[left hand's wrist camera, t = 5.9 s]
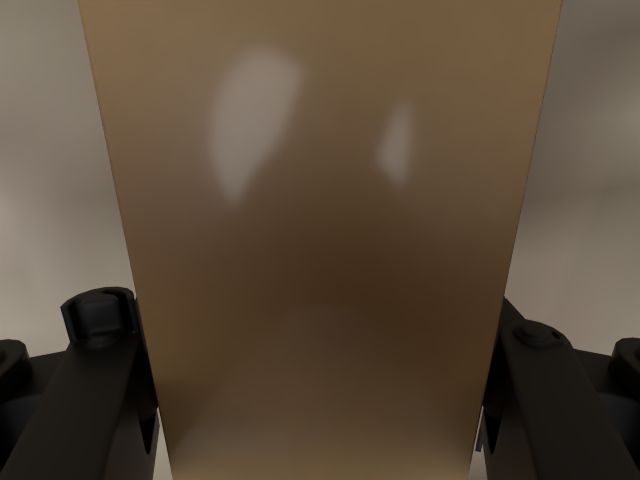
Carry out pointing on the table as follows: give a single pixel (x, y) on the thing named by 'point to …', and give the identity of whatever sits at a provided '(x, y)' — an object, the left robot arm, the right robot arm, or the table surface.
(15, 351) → the left robot arm
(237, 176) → the beam
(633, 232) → the table surface
